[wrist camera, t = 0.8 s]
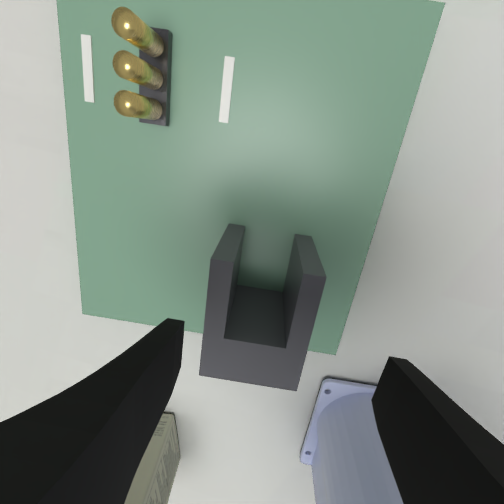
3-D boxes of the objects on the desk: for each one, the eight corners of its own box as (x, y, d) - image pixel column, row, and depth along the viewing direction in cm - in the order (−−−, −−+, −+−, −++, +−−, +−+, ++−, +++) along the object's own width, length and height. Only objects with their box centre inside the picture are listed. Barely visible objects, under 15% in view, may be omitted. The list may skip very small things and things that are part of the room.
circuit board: (332, 343, 22) (335, 356, 21) (92, 304, 22) (81, 314, 21) (432, 13, 14) (446, 1, 13) (68, -41, 15) (50, -57, 13)
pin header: (169, 126, 16) (141, 123, 13) (143, 122, 16) (109, 119, 13) (172, 33, 14) (142, 3, 11) (144, 29, 14) (105, -3, 11)
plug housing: (290, 326, 20) (296, 391, 15) (217, 314, 20) (198, 375, 15) (311, 236, 18) (326, 277, 13) (228, 223, 18) (210, 258, 13)
